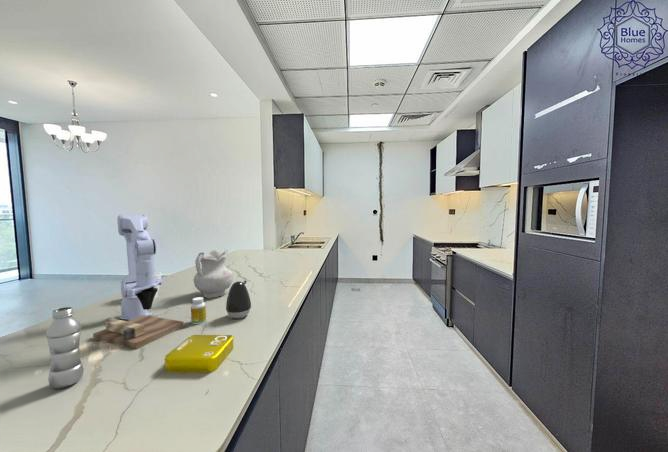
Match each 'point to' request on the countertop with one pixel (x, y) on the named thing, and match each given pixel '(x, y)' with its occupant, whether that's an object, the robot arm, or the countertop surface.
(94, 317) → the countertop surface
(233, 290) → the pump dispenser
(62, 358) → the plastic bottle
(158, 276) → the cup
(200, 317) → the supplement bottle
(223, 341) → the element tile
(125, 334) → the wooden board
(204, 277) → the ceramic pitcher
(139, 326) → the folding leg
